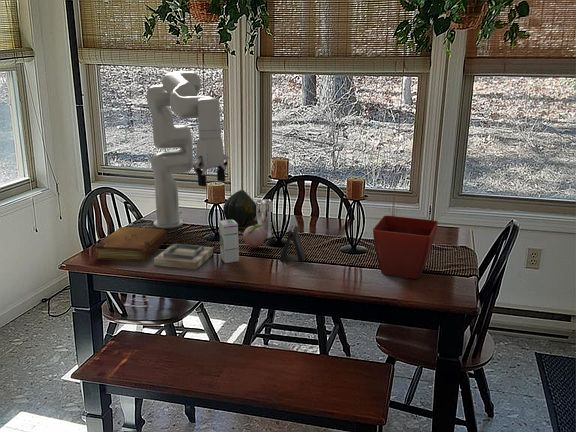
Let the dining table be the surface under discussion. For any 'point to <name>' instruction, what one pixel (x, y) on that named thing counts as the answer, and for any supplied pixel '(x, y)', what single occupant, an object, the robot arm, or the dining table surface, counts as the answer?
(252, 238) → the decorative fruit
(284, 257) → the phone stand
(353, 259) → the dining table surface
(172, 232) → the dining table surface
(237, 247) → the syrup box
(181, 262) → the base plate
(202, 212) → the dining table surface
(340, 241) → the dining table surface
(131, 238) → the diary
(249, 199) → the squash
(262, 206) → the beer glass
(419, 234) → the plant pot
